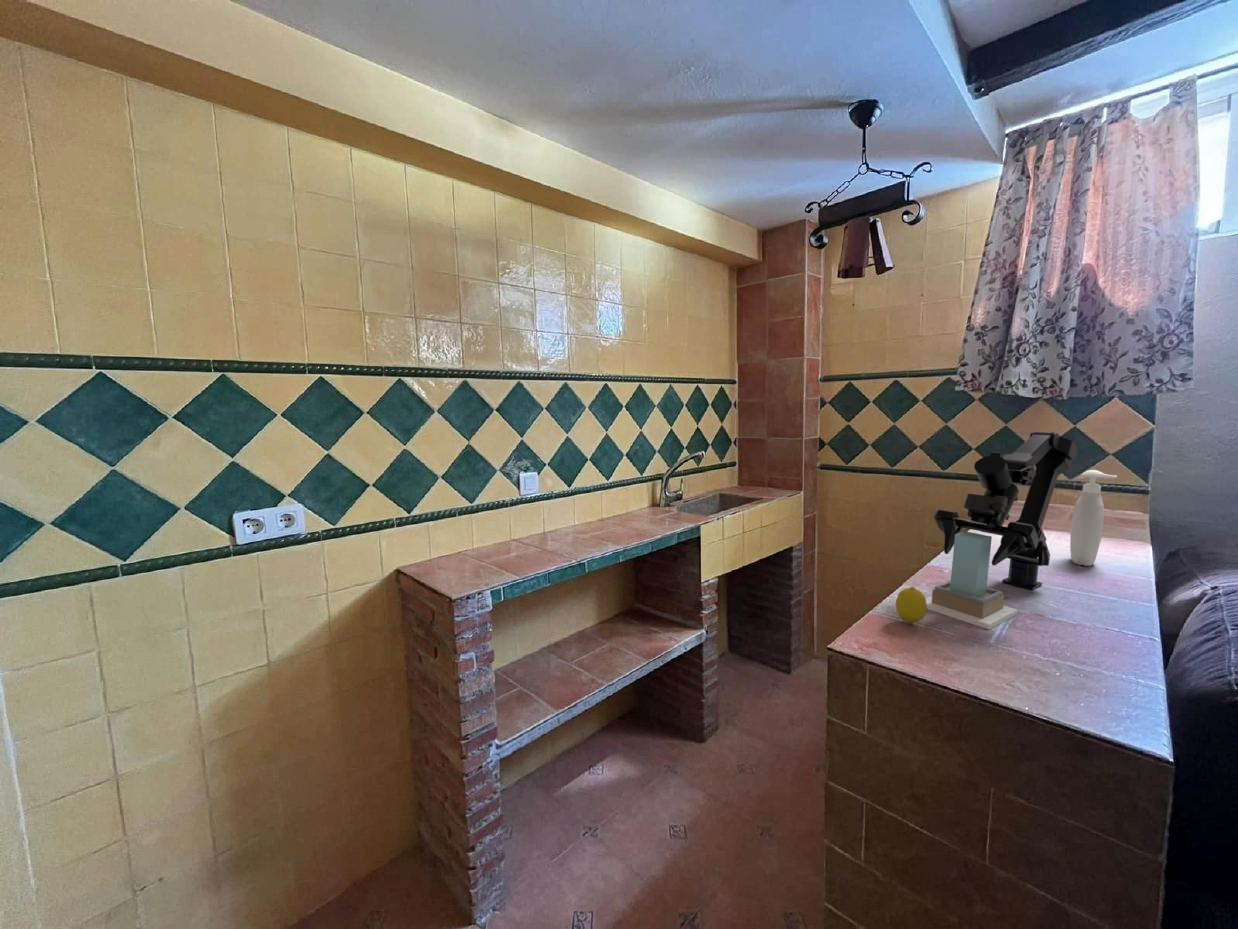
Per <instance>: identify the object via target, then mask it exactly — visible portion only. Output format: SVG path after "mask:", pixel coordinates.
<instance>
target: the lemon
mask: <svg viewBox="0 0 1238 929" xmlns="http://www.w3.org/2000/svg"><path fill="white" fill-rule="evenodd" d="M925 598H926V597H925V595H924V594H923V593H922V592H921V591H920V590H918V589H916V587H914V586H910V587H907V588H904V589H902V590H901V591H900V592H898V595H897V597H896V600H895V609H896V612H897V614H898V616H899V617H900V618H901V619H902V620H904V621H906V623H907V624H909V625H912V624H914V623H919V622H920V621H921V620H923V618H924V617H925V616H926V615H927V610H928V609H927V604H926V599H925Z"/></svg>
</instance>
